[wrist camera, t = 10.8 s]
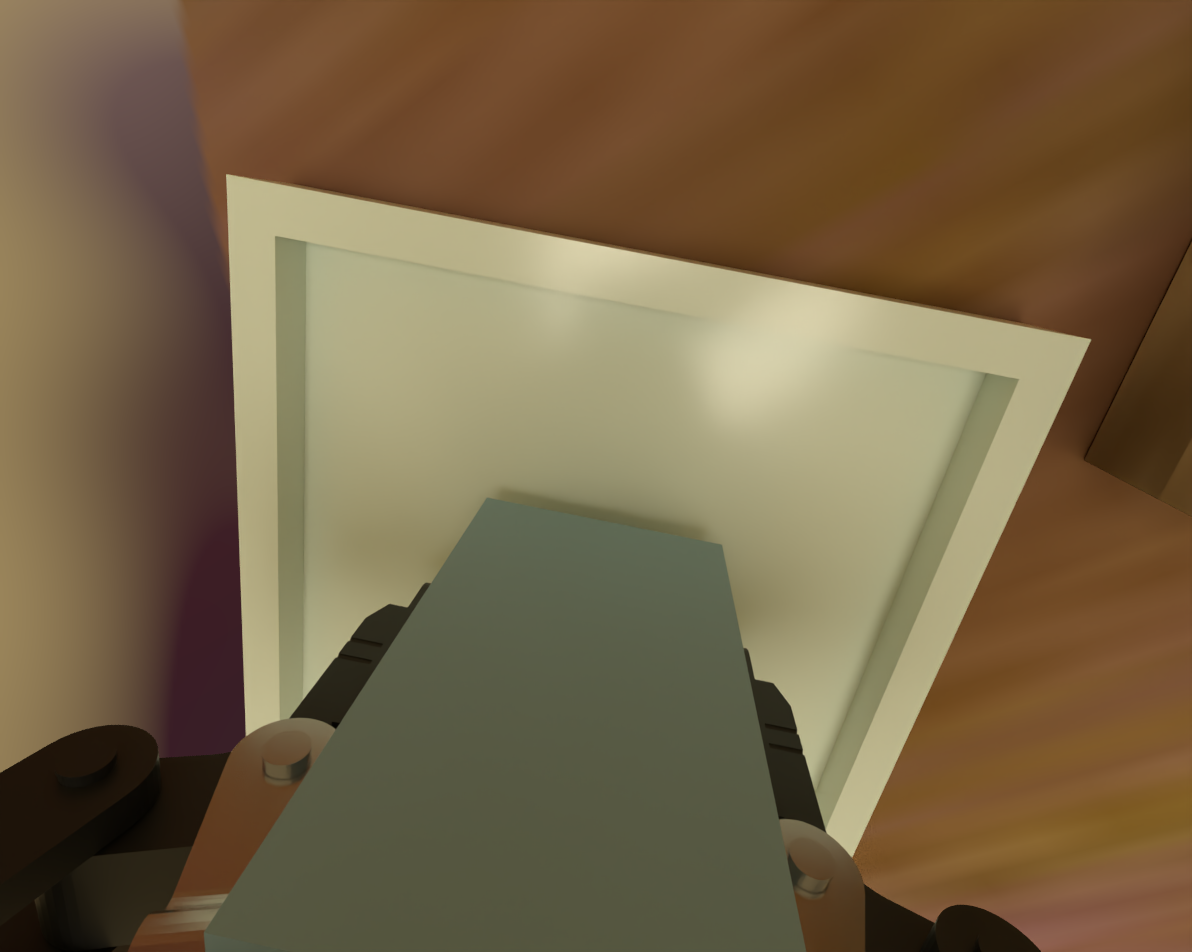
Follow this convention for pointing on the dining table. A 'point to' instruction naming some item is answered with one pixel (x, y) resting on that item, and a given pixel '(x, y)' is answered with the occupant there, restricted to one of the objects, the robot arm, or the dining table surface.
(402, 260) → the plate
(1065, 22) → the dining table surface
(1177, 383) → the crate
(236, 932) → the block
